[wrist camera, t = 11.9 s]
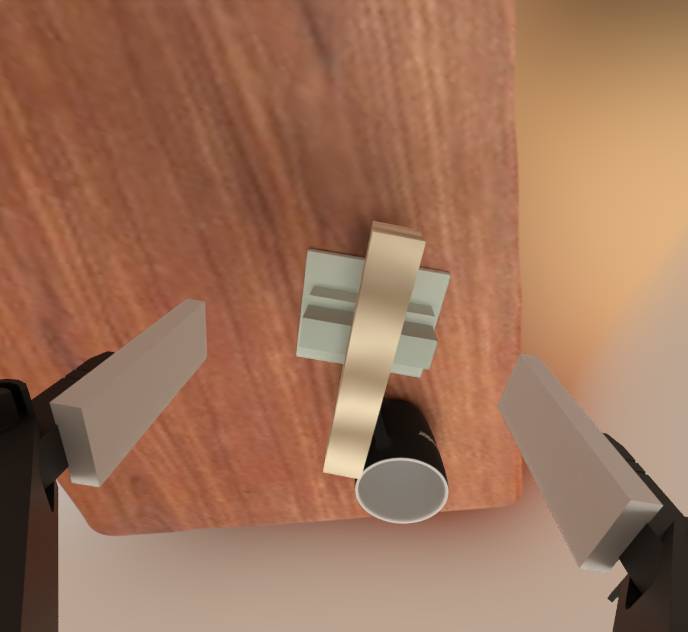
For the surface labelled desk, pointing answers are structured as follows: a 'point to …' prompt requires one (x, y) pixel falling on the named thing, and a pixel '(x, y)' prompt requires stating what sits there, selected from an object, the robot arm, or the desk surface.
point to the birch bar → (372, 343)
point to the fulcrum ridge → (339, 305)
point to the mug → (402, 467)
